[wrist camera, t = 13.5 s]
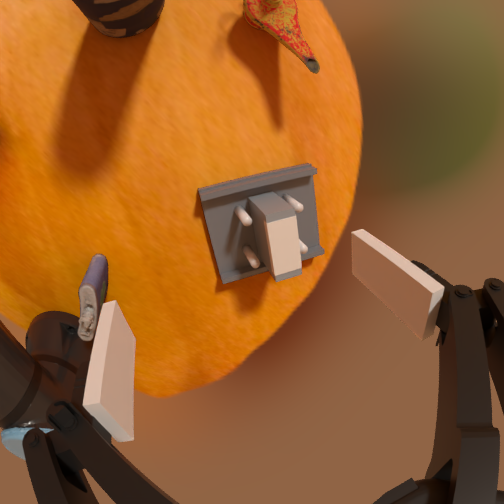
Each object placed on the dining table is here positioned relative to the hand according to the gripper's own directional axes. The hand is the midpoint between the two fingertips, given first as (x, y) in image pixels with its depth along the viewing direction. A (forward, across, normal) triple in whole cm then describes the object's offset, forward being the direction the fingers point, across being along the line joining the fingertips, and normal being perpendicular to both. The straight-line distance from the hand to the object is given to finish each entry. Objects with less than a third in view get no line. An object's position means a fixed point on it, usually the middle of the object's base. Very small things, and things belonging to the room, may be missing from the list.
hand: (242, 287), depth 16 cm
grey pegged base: (+27, +8, -8) cm, 29 cm away
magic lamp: (+27, +14, +20) cm, 36 cm away
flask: (+27, -18, -10) cm, 34 cm away
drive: (+26, +8, -8) cm, 28 cm away
